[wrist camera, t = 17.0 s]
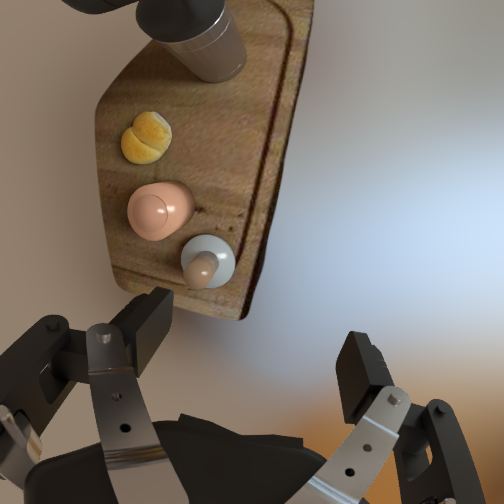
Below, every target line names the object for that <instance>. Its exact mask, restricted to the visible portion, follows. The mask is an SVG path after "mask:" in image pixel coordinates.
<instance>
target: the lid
mask: <svg viewBox="0 0 504 504" xmlns="http://www.w3.org/2000/svg"><path fill="white" fill-rule="evenodd" d="M235 264H236V261H235V255H234V252H233V250H232V248H231V246H230V245H229V244H228V243H227V242H226V241H225V240H224V239H222V238H221V237H219V236H216V235H213V234H201V235H198V236H195V237H194V238H192V239H191V240H190V241H189V242H188V243H187V244H186V245H185V246H184V248H183V250H182V254H181V265H182V268H183V271H184V272H183V278H184V281H185V283H186V284H187V285H188V286H189V287H191V288H193V289H196V290H200V289H203V288H215V287H219V286H221V285H223V284H225V283H226V282H227V281H228V280H229V279H230V278H231V276H232V274H233V272H234V269H235Z"/></svg>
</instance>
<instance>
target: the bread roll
mask: <svg viewBox="0 0 504 504" xmlns="http://www.w3.org/2000/svg"><path fill="white" fill-rule="evenodd" d="M171 138H172V132H171V127H170V126H169V124H168V123H167V122H166V121H165V120H164V119H163V118H162V117H161V116H160V115H159V114H158V113H156V112H144V113H141V114H140V115H138V116H137V117H136V118H135V120H134V122H133V126H132V127H130V128H128V129H127V130H126V131H125V132H124V133H123V135H122V139H121V148H122V151H123V154H124V156H125V157H126V158H127V159H128V160H129V161H130V162H132V163H135V164H140V165H143V164H149V163H153V162H154V161H156V160H158V159H159V158H160V157H161V156H162V154H163V153H164V152H165V151H166V150H167V148H168V147H169V145H170V142H171Z"/></svg>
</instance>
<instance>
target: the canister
mask: <svg viewBox="0 0 504 504" xmlns="http://www.w3.org/2000/svg"><path fill="white" fill-rule="evenodd" d="M194 210H195V200H194V196H193V194H192V192H191V190H190V189H189V188H188V187H187V186H186V185H185V184H183V183H182V182H179V181H175V180H170V181H164V182H159V183H154V184H149V185H145V186H142V187H140V188H138V189H137V190H136V191H135V192H134V193H133V194H132V196H131V198H130V200H129V203H128V210H127V212H128V219H129V222H130V224H131V226H132V228H133V229H134V231H135V232H136V233H137V234H138V235H139V236H141V237H142V238H144V239H147V240H151V241H156V240H161V239H163V238H165V237H167V236H168V235H170V234H171V233H173V232H174V231H176V230H177V229H179V228H180V227H182V226H183V225H185V224H186V223H188V222H189V220H190V219H191V218H192V216H193V214H194Z"/></svg>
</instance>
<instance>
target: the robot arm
mask: <svg viewBox="0 0 504 504" xmlns="http://www.w3.org/2000/svg"><path fill="white" fill-rule="evenodd" d="M62 1H63V2H64V3H66V4H68V5H69V6H70V7H72V8H74V9H76V10H78V11H80V12H83V13H86V14H101V13H106V12H109V11H113V10H115V9H118V8H121V7H123V6H125V5H129V4H131V3H134V2H137V1H139V3H138V5H137V9H136V21H137V23H138V25H139V27H140V28H141V29H142V30H143V31H144V32H145V33H146V34H147V35H149V36H150V37H151V38H152V39H154V40H155V41H156V42H157V43H159V44H160V45H161V46H162V47H164V48H165V49H166V50H167V51H168V52H170V53H171V54H172V55H173V56H174V57H175V58H177V59H178V60H179V61H180V62H181V63H182V64H184V65H185V66H186V67H187V68H188V69H189V70H190V71H191V72H192V73H194V74H195V75H196V76H197V77H198V78H199V79H201V80H203V81H206V82H211V83H218V82H223V81H227V80H229V79H231V78H233V77H234V76H236V75H237V74H238V73H239V72H240V71H241V70H242V68H243V67H244V65H245V62H246V57H247V54H246V49H245V46H244V44H243V41H242V38H241V36H240V33H239V31H238V28H237V26H236V23H235V21H234V18H233V16H232V13H231V11H230V9H229V6H228V4H227V2H226V0H62ZM173 298H174V292H173V290H170V289H166V288H162V287H159V286H157V287H156V288H155V289H154V290H153V291H152V292H151V293H150V294H149V295H148V294H145V293H144V294H141V295H139V296H137V297H135V298H134V299H133V300H132V301H130V302H129V304H128V305H126V306H125V308H124V309H122V310H121V311H120V312H119V313H118V314H117V315H116V316H115V317H114V318H113V319H112V320H111V321H110V322H109V323H99V324H95V325H93V326H91V327H90V328H89V329H88V330H87V331H80V330H74V329H69V323H68V321H67V319H66V318H64V317H63V316H60V315H48V316H45V317H43V318H41V319H40V320H39V321H38V322H36V323H35V324H34V325H33V326H32V327H31V328H30V329H28V330H27V331H26V332H25V333H24V334H23V335H22V336H21V337H20V338H19V339H17V340H16V341H15V342H14V343H13V344H12V345H11V346H10V347H9V348H8V349H7V350H6V351H5V352H4V353H3V354H2V355H1V356H0V479H3V480H7V481H8V482H10V483H11V484H12V485H14V486H15V487H16V488H18V489H19V490H20V491H22V492H23V493H24V504H369V502H368V501H366V500H365V499H364V498H363V496H364V494H365V493H366V491H367V490H368V488H369V487H370V486H371V484H372V482H373V481H374V479H375V478H376V476H377V474H378V473H379V471H380V470H381V468H382V466H383V465H384V463H385V461H386V460H387V458H388V456H389V454H390V452H391V451H392V450H393V451H394V456H395V462H396V468H397V474H398V480H399V487H400V494H401V502H402V504H486V502H485V499H484V495H483V491H482V488H481V484H480V481H479V478H478V475H477V471H476V469H475V466H474V463H473V460H472V457H471V454H470V451H469V448H468V446H467V443H466V441H465V438H464V435H463V433H462V430H461V428H460V425H459V423H458V421H457V418H456V416H455V414H454V411H453V409H452V408H451V406H450V405H449V404H448V403H446V402H445V401H443V400H440V399H433V400H431V401H430V402H429V403H428V404H427V406H426V407H423V406H420V405H416V404H413V403H411V399H410V397H409V395H408V394H407V393H406V392H405V391H404V390H402V389H401V388H399V387H396V386H395V385H394V383H393V380H392V378H391V375H390V373H389V370H388V368H387V365H386V363H385V362H384V358H383V356H382V353H381V352H380V351H379V350H378V349H377V348H376V346H375V345H371V342H370V340H369V338H368V335H367V334H366V333H361V332H355V331H350V332H349V334H348V336H347V338H346V340H345V343H344V345H343V347H342V349H341V351H340V354H339V356H338V358H337V361H336V374H337V380H338V386H339V391H340V397H341V402H342V409H343V415H344V421H345V423H346V424H355V428H354V429H353V430H352V432H351V433H350V434H349V436H348V437H347V438H346V439H345V440H344V442H343V443H342V444H341V445H340V447H339V448H338V449H337V450H336V451H335V453H334V454H333V455H332V456H331V457H330V458H329V459H328V460H326V459H325V458H324V457H323V456H321V455H320V454H318V453H316V452H314V451H312V450H310V449H308V448H305V447H303V438H296V437H288V436H281V435H240V434H237V433H235V432H232V431H230V430H228V429H226V428H223V427H221V426H219V425H217V424H215V423H213V422H210V421H207V420H203V419H199V418H195V417H192V416H189V415H185V414H182V413H181V414H180V417H179V419H178V421H168V420H167V421H156V422H151V419H150V417H149V414H148V411H147V408H146V406H145V403H144V400H143V397H142V394H141V391H140V388H139V385H138V382H137V379H136V377H137V378H139V377H140V375H141V374H142V372H143V370H144V369H145V367H146V366H147V364H148V363H149V361H150V359H151V358H152V356H153V355H154V353H155V352H156V350H157V349H158V347H159V346H160V344H161V342H162V341H163V339H164V338H165V336H166V335H167V333H168V332H169V329H170V327H171V322H172V311H173ZM47 364H48V366H47V367H46V368H45V366H46V365H47ZM44 368H45V369H44ZM43 369H44V370H43ZM42 370H43V371H42ZM41 371H42V372H41ZM40 373H41V374H40ZM77 382H80V383H86V384H90V389H91V396H92V402H93V408H94V413H95V418H96V423H97V428H98V432H99V436H100V440H101V442H99V443H96V444H93V445H91V446H87V447H85V448H82V449H79V450H76V451H72V452H69V453H66V454H63V455H59V456H56V457H52V458H49V459H46V460H43V461H41V462H39V460H40V455H41V452H42V443H41V440H40V438H39V437H40V436H41V434H42V433H43V431H44V430H45V428H46V427H47V425H48V424H49V422H50V421H51V419H52V418H53V416H54V415H55V413H56V412H57V410H58V409H59V407H60V406H61V404H62V403H63V402H64V400H65V399H66V397H67V396H68V394H69V393H70V392H71V390H72V389H73V387H74V386H75V385H76V383H77ZM429 445H430V448H431V452H432V456H433V458H432V462H431V464H430V465H429V460H428V457H427V453H426V448H427V447H428V446H429Z"/></svg>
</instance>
